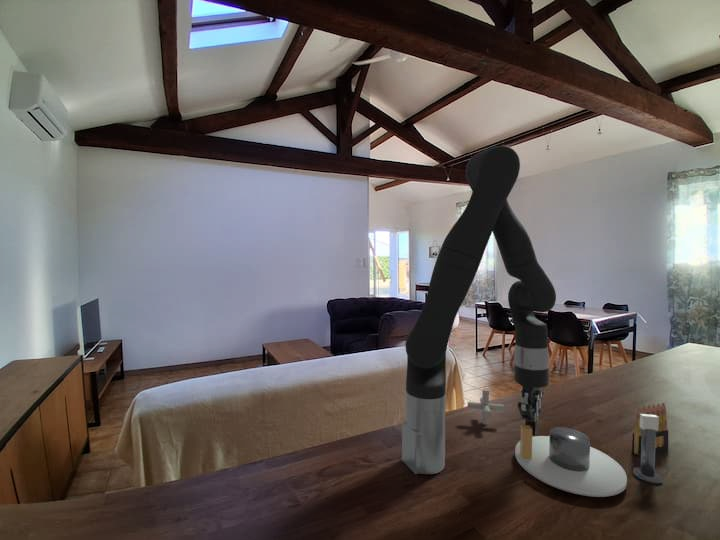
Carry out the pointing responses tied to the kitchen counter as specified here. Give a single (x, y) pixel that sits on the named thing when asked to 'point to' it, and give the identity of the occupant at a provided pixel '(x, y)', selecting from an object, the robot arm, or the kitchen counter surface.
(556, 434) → the cover
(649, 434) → the stand
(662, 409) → the ammunition clip
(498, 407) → the pipe connector
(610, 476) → the platter
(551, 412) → the kitchen counter surface
